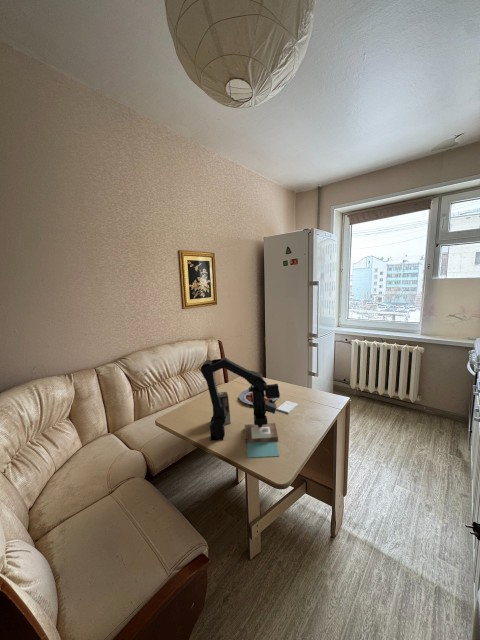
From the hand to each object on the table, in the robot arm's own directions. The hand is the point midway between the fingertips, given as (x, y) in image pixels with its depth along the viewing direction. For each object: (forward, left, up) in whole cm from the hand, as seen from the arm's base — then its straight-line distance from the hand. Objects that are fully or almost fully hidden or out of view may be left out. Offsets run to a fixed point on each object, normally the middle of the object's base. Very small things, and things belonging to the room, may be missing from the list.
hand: (260, 428), depth 122 cm
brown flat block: (0, -1, -3) cm, 3 cm away
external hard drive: (+18, +25, -4) cm, 31 cm away
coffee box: (-21, +13, -4) cm, 25 cm away
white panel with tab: (0, -4, -1) cm, 4 cm away
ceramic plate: (+1, +40, -4) cm, 41 cm away
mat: (0, -12, -3) cm, 12 cm away
